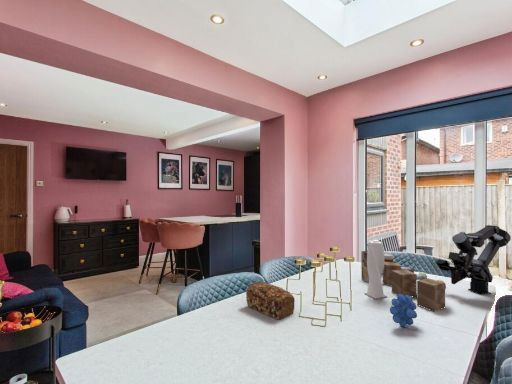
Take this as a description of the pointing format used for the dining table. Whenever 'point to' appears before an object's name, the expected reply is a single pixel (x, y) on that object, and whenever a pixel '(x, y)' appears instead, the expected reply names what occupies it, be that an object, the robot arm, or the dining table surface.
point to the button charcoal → (408, 268)
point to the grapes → (403, 310)
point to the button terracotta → (441, 281)
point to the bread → (270, 300)
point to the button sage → (421, 276)
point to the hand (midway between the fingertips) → (452, 283)
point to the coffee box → (364, 266)
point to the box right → (431, 294)
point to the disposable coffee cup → (388, 257)
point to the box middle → (404, 282)
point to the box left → (389, 272)
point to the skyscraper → (375, 269)
